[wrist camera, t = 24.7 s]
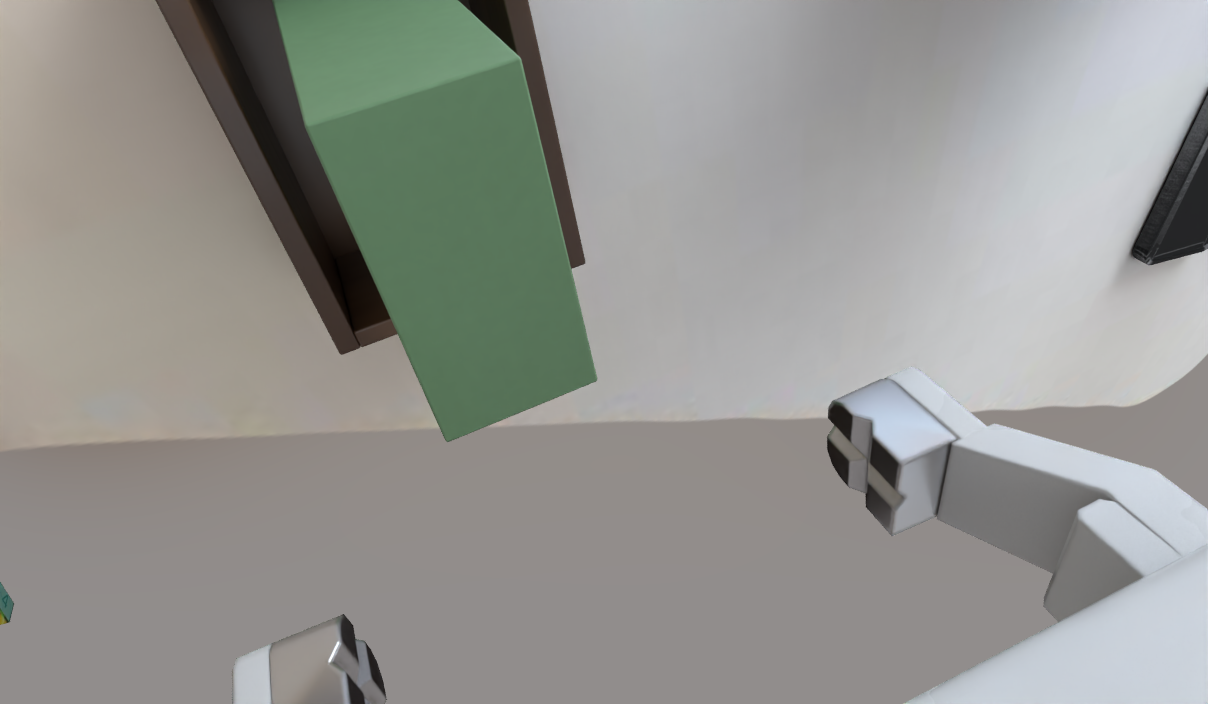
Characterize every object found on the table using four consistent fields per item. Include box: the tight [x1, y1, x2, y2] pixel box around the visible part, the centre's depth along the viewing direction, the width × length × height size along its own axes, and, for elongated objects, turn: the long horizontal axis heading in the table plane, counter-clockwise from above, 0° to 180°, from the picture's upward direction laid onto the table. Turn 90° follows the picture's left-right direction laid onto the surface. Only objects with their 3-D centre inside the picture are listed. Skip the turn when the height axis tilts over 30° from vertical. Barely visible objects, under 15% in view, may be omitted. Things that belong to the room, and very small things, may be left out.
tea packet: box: [272, 0, 597, 442], centre depth 24 cm, size 4×16×9 cm
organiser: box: [155, 0, 585, 355], centre depth 28 cm, size 10×15×7 cm
